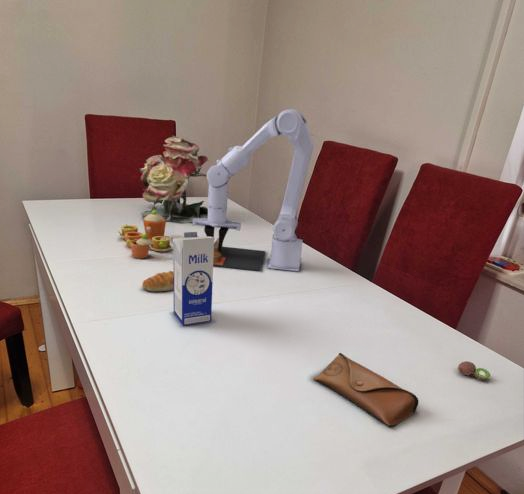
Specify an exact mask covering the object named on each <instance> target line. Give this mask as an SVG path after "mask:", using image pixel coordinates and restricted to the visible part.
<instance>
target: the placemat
mask: <svg viewBox="0 0 524 494" xmlns="http://www.w3.org/2000/svg"><path fill="white" fill-rule="evenodd" d="M220 254H221V261H220V262H217V263H213V268H214V267H215V268H223V269H234V270H243V271H252V272H261V270H262V266H263V261H264V256H265V255H266V250H261V249H260V250H258V249H251V248H250V249H249V248H239V247H229V246H223V247H222V249H221V251H220Z"/></svg>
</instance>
